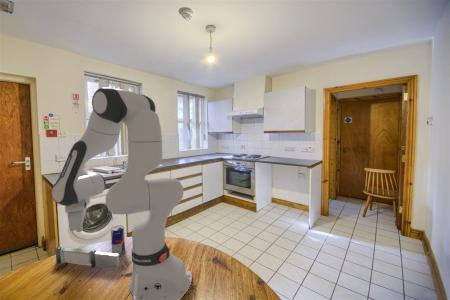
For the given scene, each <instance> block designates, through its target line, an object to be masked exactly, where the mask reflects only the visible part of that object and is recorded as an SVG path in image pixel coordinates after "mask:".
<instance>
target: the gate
mask: <svg viewBox="0 0 450 300" xmlns="http://www.w3.org/2000/svg"><path fill="white" fill-rule="evenodd" d="M91 251H93V250H91V249H90V250H89V249H80V248H72V247H70V248H69V247H63V248H61V250H60V256H61V263H71V264H79V265H81V264H82V265H88V266H91V254H90V252H91Z"/></svg>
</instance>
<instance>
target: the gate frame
mask: <svg viewBox="0 0 450 300" xmlns="http://www.w3.org/2000/svg"><path fill="white" fill-rule="evenodd" d="M61 249H62V246H58V247H56V248H55V252H54V253H55V261H56V264H60V263H62V262H61V256H60V250H61ZM90 254H91V264H90V266H91V268H100V269H108V270H109V269H110V270H116V271H117V270H119V269H120V255H119V254H114V253H112V252H103V251H97V250H94V249H93V250H92V251H91V252H90Z"/></svg>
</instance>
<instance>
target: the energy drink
mask: <svg viewBox="0 0 450 300" xmlns="http://www.w3.org/2000/svg"><path fill="white" fill-rule="evenodd" d="M110 236H111V237H110V240H111V253H114V254H119V256H121V255H123V254H125V252H126V245H125V243H126V242H125V239H126V238H125V228H124V225H121V224H120V225H115V226H113V227H111V229H110Z"/></svg>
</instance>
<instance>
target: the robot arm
mask: <svg viewBox="0 0 450 300" xmlns="http://www.w3.org/2000/svg"><path fill="white" fill-rule="evenodd" d="M91 106H92V111H91V113H90V116H89V119H88V123H87V126H86V128H85V132H84V133H83V135H82V136H81V138H79V139H78V140H77V141H76V142H75V143H73V145H72V147H71V149H70V151H69V153H68V155H67V158H66V160H65V162H64V165H63V167H62V170H61V172H60V175H59V177H58V179H57V180H56V182H55V183H54V184H53V187H52V189H51V197H52V200H53V201H54V202H55V203H56V204H59V205H61V206H64V212H65V213H66V214H67V221H68V222H67V223H68V226H69V230H70V231H71V232H72V231H76V232H77V233H80V232H83V228H84V227H83V226H84V225H83V224H84V221H85V216H86V213H87V207H88V205H90V203H91V199H90V198H93V197H95V196H98V195H100V194H103V193H104V191H105V190H106V188H107V183H106V182H107V181H106V179H105V177H104V176H103V175H102V174H100V173H97V172H94V171H92V170H90V169H89V168H88V167H87V165H86V163H88V162H89V161H90V160H91V159H93V158H95V157H97V156H98V155H101V154H103V153H106V152H108V151H110V150H112V149H113V148H114V147H115V146H116V144H117V142H118V140H119V137H120V133H121V129H122V126H123V124H124V125H125V126H126V128H127V129H126V130H127V149H128V150H127V153H128V154H127V165H126V168H125V170H124V173H123V174H122V176H121V177H120V179H119V180H118V181H116V183H115V184H113V185H112V186H111V187H110V188H109V189H108V190H107V192H106V195H105V206H106V207H107V209H108V211H109V212H110V213H111V214H113V215H132V214H133V215H134V214H138V213H143V212H148V213H147V214H146V215H145V216H144V217H142V218H141V219H139V220H138V221H137V222H136V223H135V225H134V226H133V228H132V231H131V239H132V248H131V261H132V271H131V272H132V274H131V278H130V283H129V285H128V286H129V287H128V289H129V291H130V294H131V295H132V296H133V300H177V299H180V298H181V297H182V296H184V294H185V293H186V292H187V291H188V292H189V290H190V288H191V286H190V285H192V283H193V274H192V271H191V270H187V268H186V265H185V262H184V261H183V260H181V259H180V258H178V257H177V256H176V255H174V254H173V253H171V252H170V251H171V249H172V244H170V245H169V247H168V245H167V243H166V241H165V239H166V238H165V237H166V236H165V235H166V224H167V220H168V218H169V216H170V214H171V213H172V212H173V210H174V209H175V208H176V206H177V205H178V204H180V203H181V201H182V199H183V197H184V186H183V184H182V182H181V181H180V180H179V179H178V178H171V177H163V178H162V177H160V178H152V179H146V177H147V175H148V174H149V173H150V172H152V171H154V170H156V169H157V168H159V166H160V165H161V164H162V163H163V138H162V137H163V136H162V128H161V122H160V118H159V115H158V114H157V113H156V104H155V102H154V101H153V100H152V99H151V98H150V97H148V95H145V94H140V93H136V92H133V91H131V90H129V89H122V88H121V89H120V88H114V87H100V88H98V89H97V90H96V91H95V92H94V93H93V94H92V99H91ZM191 282H192V283H191ZM189 287H190V288H189ZM188 289H189V290H188ZM188 292H187V293H188ZM181 293H183V294H181ZM187 293H186V294H187ZM184 297H185V296H184Z"/></svg>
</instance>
